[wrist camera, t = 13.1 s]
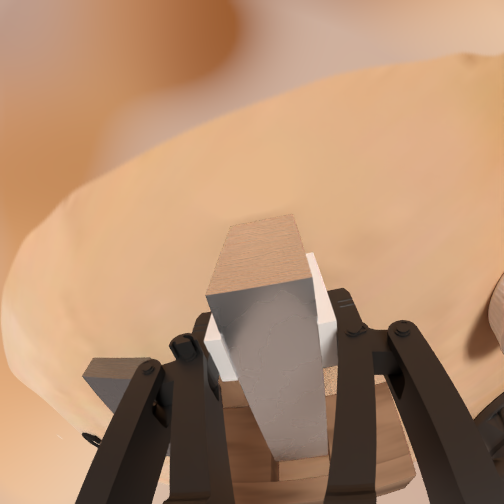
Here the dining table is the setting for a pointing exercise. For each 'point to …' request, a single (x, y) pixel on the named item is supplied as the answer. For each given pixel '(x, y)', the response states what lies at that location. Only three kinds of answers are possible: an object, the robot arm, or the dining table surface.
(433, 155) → the dining table surface
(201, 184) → the dining table surface
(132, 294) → the dining table surface
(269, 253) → the steel bar
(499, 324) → the ramekin
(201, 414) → the robot arm
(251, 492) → the brown notched block
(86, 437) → the micrometer
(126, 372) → the cradle
